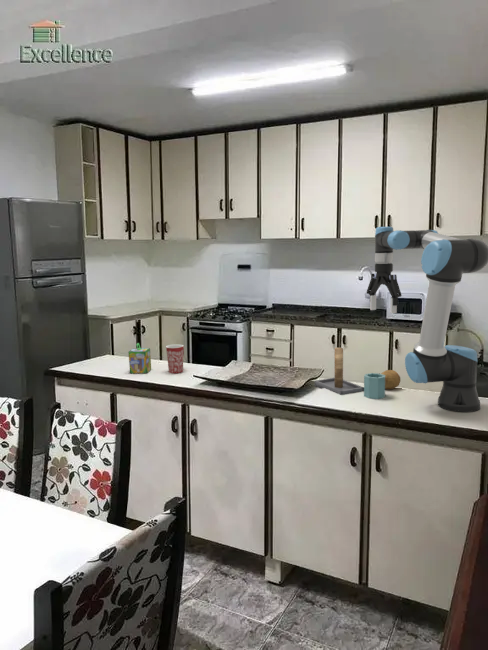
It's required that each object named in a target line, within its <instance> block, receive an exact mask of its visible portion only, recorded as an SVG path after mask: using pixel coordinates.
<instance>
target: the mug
mask: <svg viewBox="0 0 488 650" xmlns="http://www.w3.org/2000/svg"><path fill="white" fill-rule="evenodd" d="M184 347H185V346H184V344H175V343H174V344H168V345H166V346H165V349H166V359H167V365H168V366H167V367H168V373H169V374H181V373H183V372H184V355H185V348H184Z"/></svg>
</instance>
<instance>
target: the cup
mask: <svg viewBox="0 0 488 650" xmlns="http://www.w3.org/2000/svg"><path fill="white" fill-rule="evenodd" d="M363 387H364V391H363V397H365V398H367V399H372V400H379V399H383V398H385V397H386V389H385V375H383V374H381V373H378V372H370V373H365V374H364V375H363Z"/></svg>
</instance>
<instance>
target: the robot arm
mask: <svg viewBox="0 0 488 650" xmlns="http://www.w3.org/2000/svg"><path fill="white" fill-rule="evenodd" d="M374 234H375V235H374V239H375V240H374V243H375V244H374V250H375V251H374V262H375V264H374V272H375V273H371V276H370V280H369V284H368V286H367V289H366V294H368V295H369V302H370V303H369V305H370V306H369V307H370V308H369V309H370V311H375V310H377V294H376V293H377V292H378V290H379V288H380V287H381V285H384V286H386V288H387V290H388V292H389V294H390V295H391V297H390V314H398V312H397V311H398V309H397V308H398V307H397V306H398V301H399V299H398V298H400V297H402V292H401V289H400V286H399V282H398V279H397V274H392V273H393V270H394V269H393V268H394V267H393V266H394V265H393V261H394V250H396V251H397V250H413V249H415V250H418V249H420V250H421V249H422V250H423V252H422V255H421V261H420V263H421V269H422V271H423V273H424V274H425V278H426V279H427V281H428V282H429V283H428V288H427V293H426V301H425V306H424V313H423V317H422V318H423V319H422V323H421V330H420V335H419V341H418V342H416V343H414V346H413V351H410V352H408V353H407V354H406V355H405V357H404V358H405V359H404V365H405V370H406V373H407V376H408V377H409V380H411V381H412V382H413V383H415V384H428V383H439V382H441V383H442V387H441V390H440V393H439V396H438V398H437V406H438V407H440V408H441V409H444V410H447V411H453V412H460V413H468V412H469V413H471V412H476V411H479V410H480V409H481V400H480V399H479V394H478V390H477V373H478V362H479V361H478V353H477V351H476V349H473V348H470V347H467V346H461V345H452V344H447V345H445V340H446V335H447V329H448V324H449V319H450V315H451V308H452V305H453V299H454V294H455V288H456V286H457V284H459V283H461V281H462V278H463V274H472V273H477V272H479V271H481V270H482V269H484V268H485V267H486V266H487V265H488V244H486V242H484V241H482V240H480V239H476V238H475V239H474V238H466V239H462V238H458V237H454V236H451V235H450V236H449V235H446V234H441V233H439V232H438V231H437V230H434V229H426V230H425V229H423V230H399V229H398V230H397V229H396V230H394V227H393V226H377V227H376V228H375V233H374ZM444 345H445V346H444Z"/></svg>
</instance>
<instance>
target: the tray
mask: <svg viewBox="0 0 488 650" xmlns="http://www.w3.org/2000/svg"><path fill="white" fill-rule="evenodd" d="M314 387H316V388H319V389H326V390H328V391H331V392H333V393H335V394H337V395H340V396H342V395H349V394H354V393H360V392H364V386H361V385H358V384H356V383H353V382H351V381H348V380H345V379H343V387H342V388H336V387H335V377H330V378H325V379H317V380H316V379H315V380H314Z"/></svg>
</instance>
